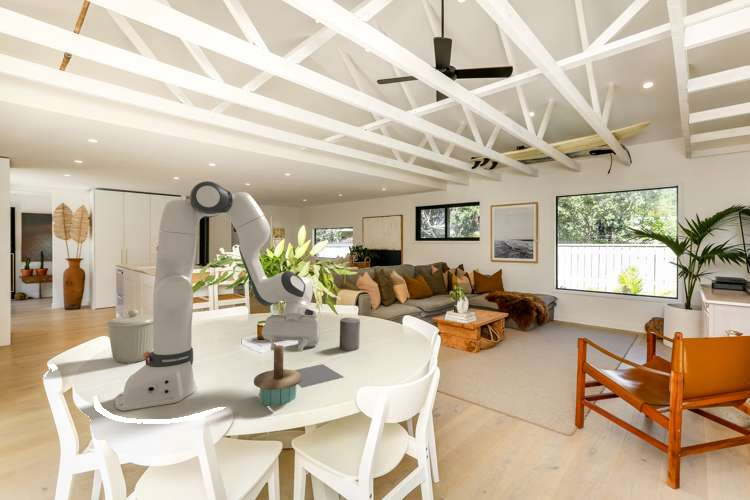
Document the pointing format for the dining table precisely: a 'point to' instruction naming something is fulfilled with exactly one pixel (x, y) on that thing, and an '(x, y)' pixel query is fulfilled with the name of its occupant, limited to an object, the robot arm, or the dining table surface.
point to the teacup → (309, 343)
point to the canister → (131, 336)
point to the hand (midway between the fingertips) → (286, 350)
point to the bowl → (277, 396)
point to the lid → (278, 374)
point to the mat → (317, 375)
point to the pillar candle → (349, 333)
